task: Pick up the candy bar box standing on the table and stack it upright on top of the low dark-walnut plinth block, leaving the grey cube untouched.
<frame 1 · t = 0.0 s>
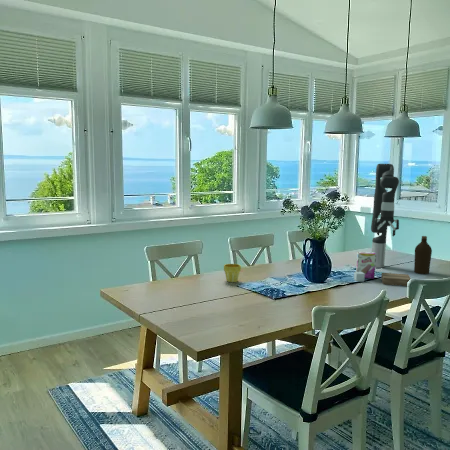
hand: (385, 235, 286), 29 cm above the table, fingers open, 8 cm apart
candy bar box: (365, 277, 301), on the table
plant pot: (232, 281, 287), on the table
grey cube: (359, 280, 294), on the table
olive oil: (421, 272, 317), on the table
walnut plinth: (395, 282, 290), on the table
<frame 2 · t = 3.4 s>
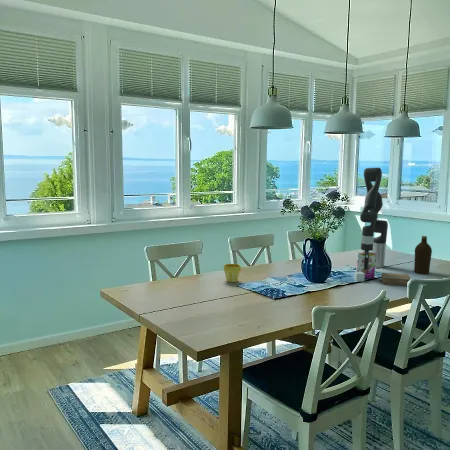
hand: (365, 268, 300), 6 cm above the table, fingers closed on candy bar box, 5 cm apart
candy bar box: (364, 277, 301), on the table, touching gripper
everything else where it was.
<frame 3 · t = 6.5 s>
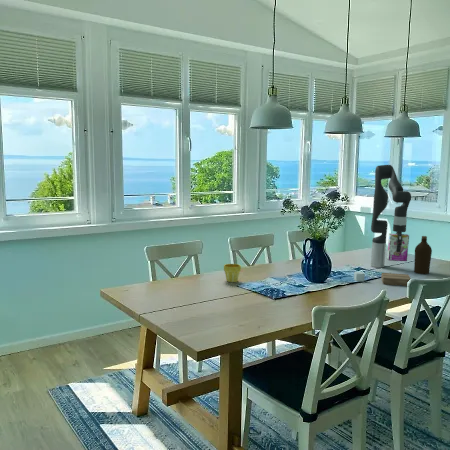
hand: (397, 250, 287), 20 cm above the table, fingers closed on candy bar box, 5 cm apart
candy bar box: (397, 260, 288), point 14 cm above the table, touching gripper
everything else where it was.
when the fingers open (11 cm above the table, at t = 9.9 s): candy bar box stays where it is, resting on walnut plinth.
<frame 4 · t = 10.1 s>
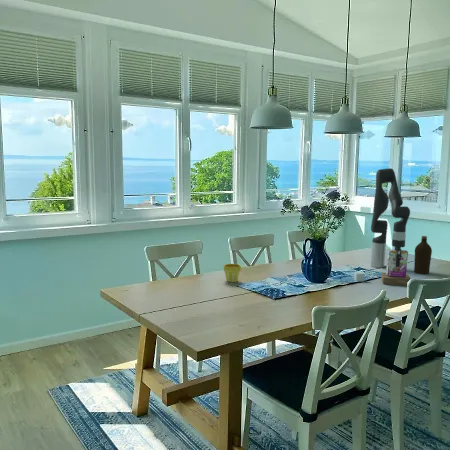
hand: (396, 265, 289), 11 cm above the table, fingers open, 6 cm apart
candy bar box: (395, 276, 290), point 4 cm above the table, touching walnut plinth
everything else where it was.
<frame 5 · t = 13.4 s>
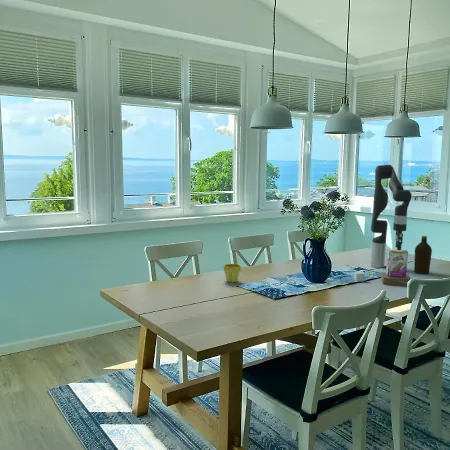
hand: (398, 248, 287), 21 cm above the table, fingers open, 8 cm apart
nothing on the table moved.
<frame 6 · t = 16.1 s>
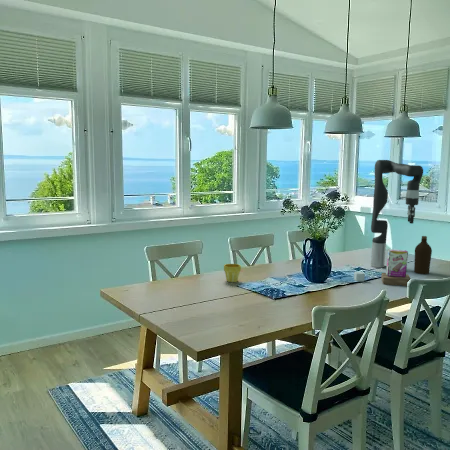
hand: (410, 222, 297), 36 cm above the table, fingers open, 8 cm apart
nothing on the table moved.
at the end: candy bar box inside the target area on the walnut plinth (0.1 cm from its centre), point 3.8 cm above the walnut plinth's base; candy bar box tilted 0°; the gripper is holding nothing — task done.
